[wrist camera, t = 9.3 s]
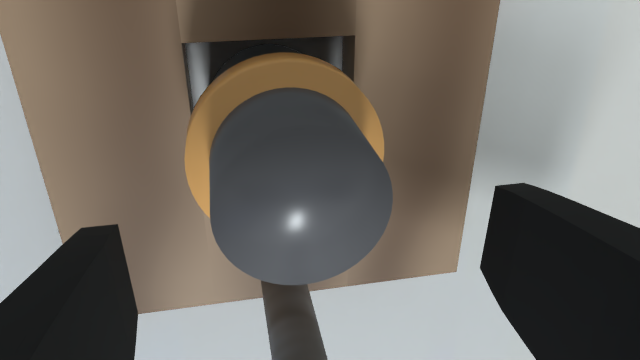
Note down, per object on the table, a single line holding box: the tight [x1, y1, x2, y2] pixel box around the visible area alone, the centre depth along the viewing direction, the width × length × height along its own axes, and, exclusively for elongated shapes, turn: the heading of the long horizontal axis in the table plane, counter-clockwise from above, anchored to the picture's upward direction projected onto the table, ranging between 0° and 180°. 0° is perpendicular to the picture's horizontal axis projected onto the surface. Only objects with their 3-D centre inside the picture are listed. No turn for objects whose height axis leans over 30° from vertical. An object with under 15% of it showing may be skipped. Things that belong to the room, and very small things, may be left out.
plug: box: [184, 44, 393, 285], centre depth 14 cm, size 5×5×7 cm
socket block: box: [0, 0, 500, 360], centre depth 14 cm, size 14×14×8 cm
